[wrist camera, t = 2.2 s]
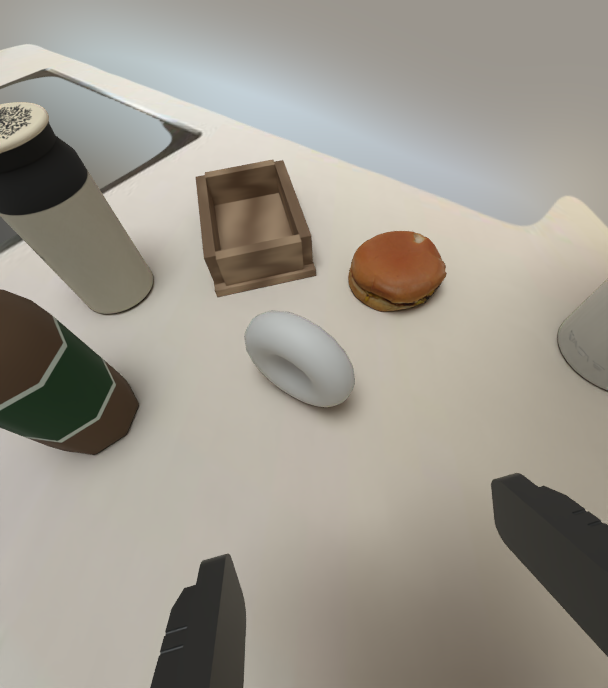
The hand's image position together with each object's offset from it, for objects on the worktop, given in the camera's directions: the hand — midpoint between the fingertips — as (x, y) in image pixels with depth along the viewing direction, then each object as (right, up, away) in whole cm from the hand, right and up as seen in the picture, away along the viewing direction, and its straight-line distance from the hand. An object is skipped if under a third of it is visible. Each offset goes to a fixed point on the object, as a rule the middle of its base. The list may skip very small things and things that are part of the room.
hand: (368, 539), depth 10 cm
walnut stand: (-8, +19, +33) cm, 39 cm away
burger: (+8, +13, +28) cm, 32 cm away
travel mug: (-24, +12, +30) cm, 40 cm away
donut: (-2, +2, +22) cm, 22 cm away
